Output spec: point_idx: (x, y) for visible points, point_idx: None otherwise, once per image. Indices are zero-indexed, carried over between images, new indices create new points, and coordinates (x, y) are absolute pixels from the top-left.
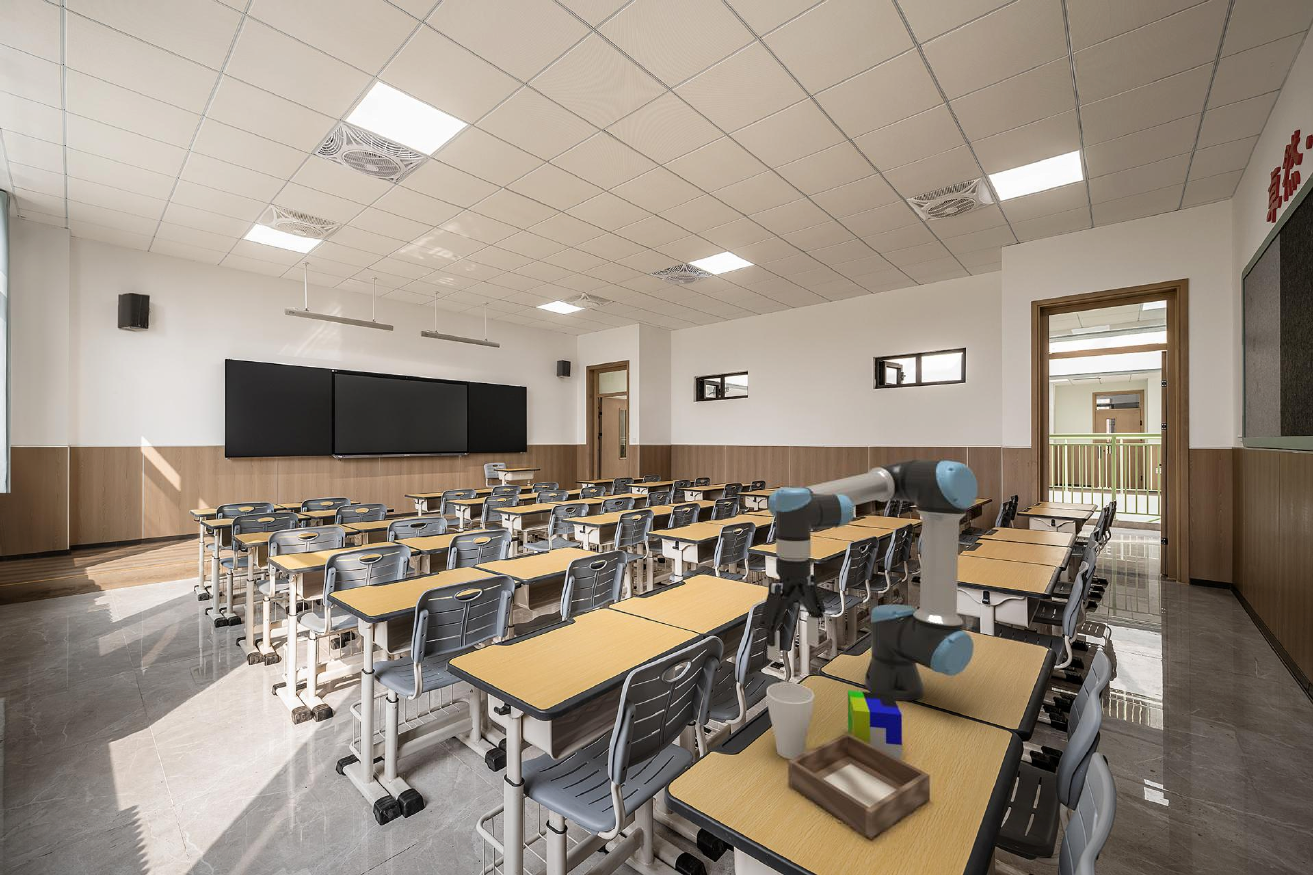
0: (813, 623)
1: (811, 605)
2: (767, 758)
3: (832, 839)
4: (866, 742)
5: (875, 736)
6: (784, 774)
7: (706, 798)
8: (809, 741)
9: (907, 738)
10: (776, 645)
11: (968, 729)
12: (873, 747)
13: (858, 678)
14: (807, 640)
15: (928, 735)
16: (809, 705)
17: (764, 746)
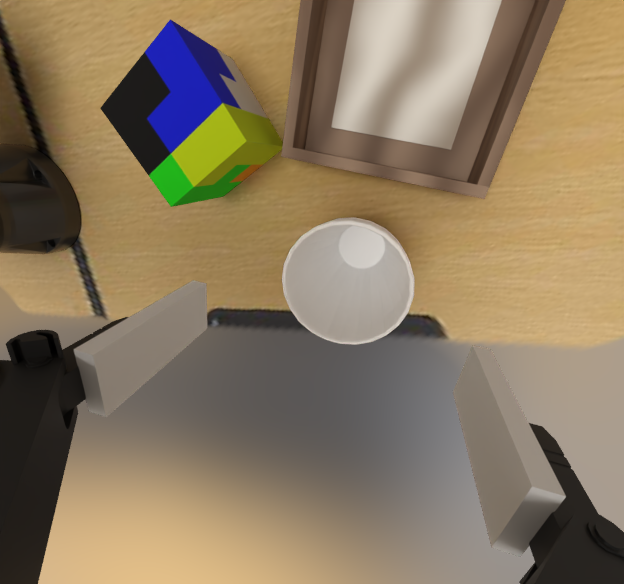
0: (127, 353)
1: (16, 466)
2: None
3: (614, 15)
4: (261, 121)
5: (243, 101)
6: (439, 218)
7: (609, 291)
8: None
9: None
10: (516, 412)
11: (35, 6)
12: (296, 71)
13: (63, 265)
14: (197, 333)
15: (117, 62)
16: (356, 219)
17: None
